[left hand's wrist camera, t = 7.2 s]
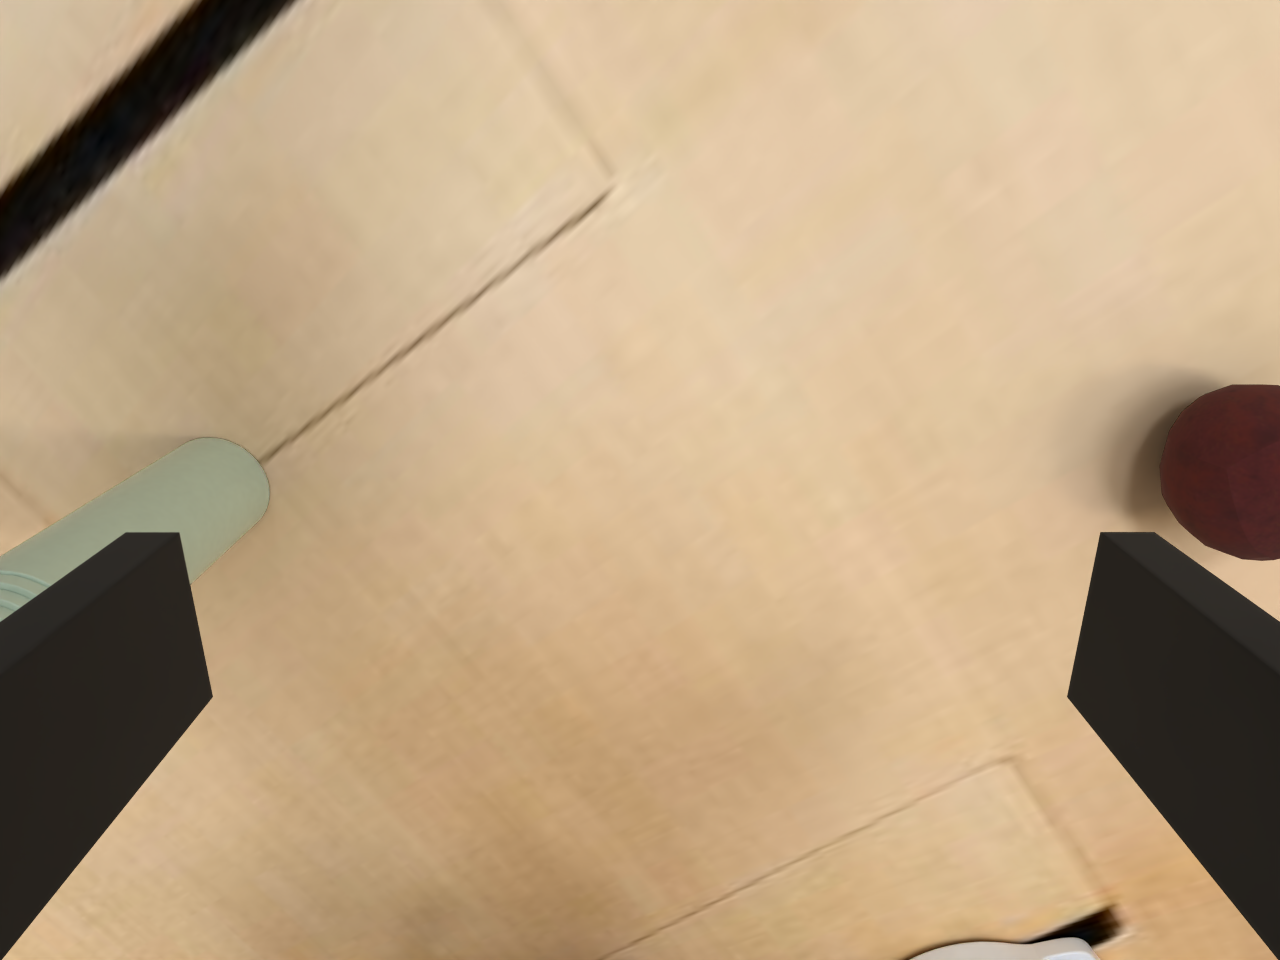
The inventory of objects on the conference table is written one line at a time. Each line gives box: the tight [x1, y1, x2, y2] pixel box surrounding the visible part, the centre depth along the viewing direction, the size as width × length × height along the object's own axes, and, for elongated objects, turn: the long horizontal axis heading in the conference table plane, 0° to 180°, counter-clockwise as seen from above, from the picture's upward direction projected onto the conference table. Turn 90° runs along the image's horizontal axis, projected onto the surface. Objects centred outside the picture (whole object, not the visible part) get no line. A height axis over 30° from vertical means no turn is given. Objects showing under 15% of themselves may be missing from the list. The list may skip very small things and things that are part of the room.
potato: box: [1160, 385, 1280, 561], centre depth 37 cm, size 7×8×7 cm
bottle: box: [0, 437, 270, 622], centre depth 32 cm, size 5×5×20 cm
